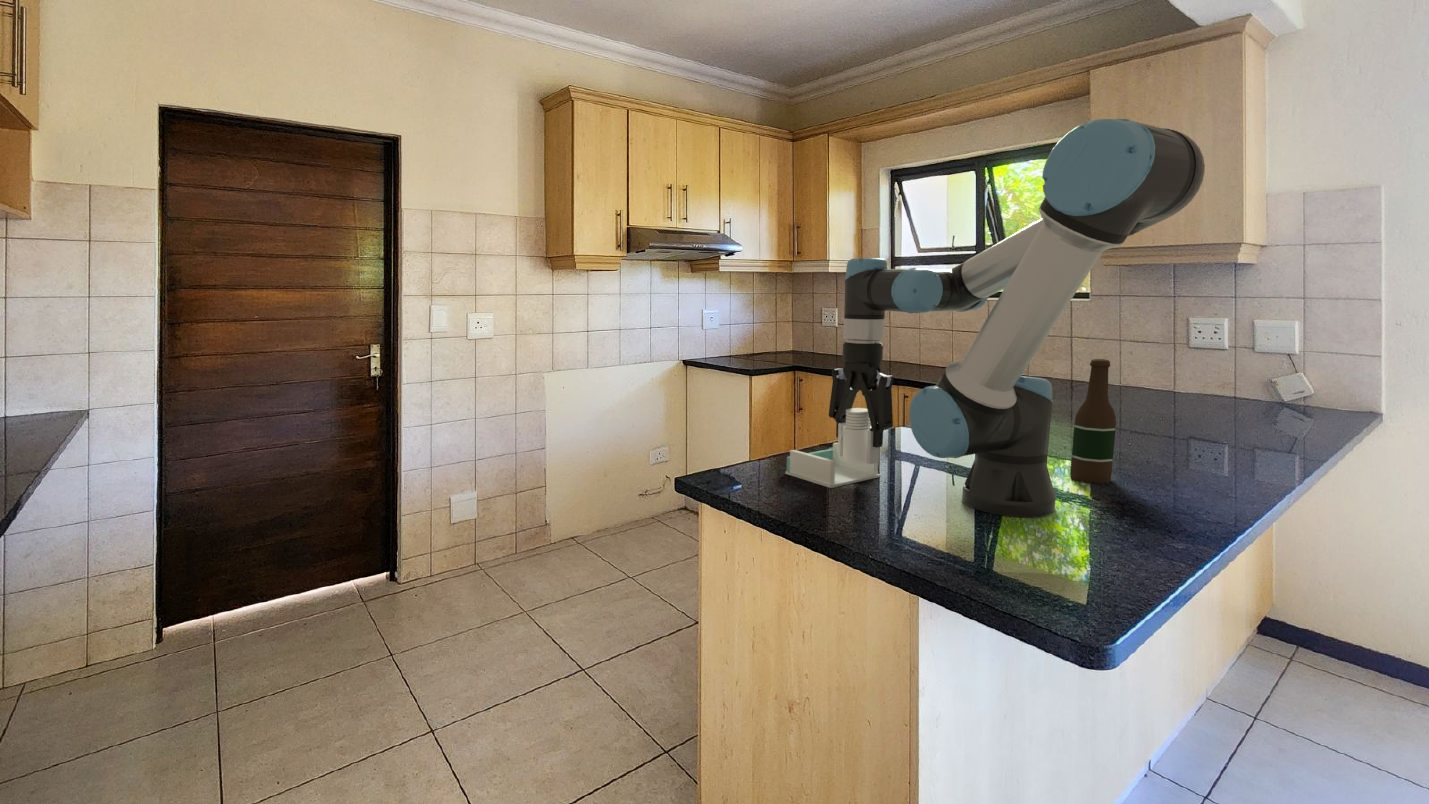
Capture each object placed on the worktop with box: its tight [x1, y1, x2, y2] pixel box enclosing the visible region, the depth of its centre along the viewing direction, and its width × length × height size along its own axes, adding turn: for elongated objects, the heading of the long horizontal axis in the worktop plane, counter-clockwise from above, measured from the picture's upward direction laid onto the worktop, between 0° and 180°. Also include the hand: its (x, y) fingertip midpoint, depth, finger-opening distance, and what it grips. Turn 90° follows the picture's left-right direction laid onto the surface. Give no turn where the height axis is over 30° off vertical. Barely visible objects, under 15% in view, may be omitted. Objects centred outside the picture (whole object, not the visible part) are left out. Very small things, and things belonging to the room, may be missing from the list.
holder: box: [784, 442, 881, 489], centre depth 143 cm, size 13×14×5 cm
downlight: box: [837, 407, 872, 463], centre depth 137 cm, size 8×7×10 cm
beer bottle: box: [1069, 358, 1117, 485], centre depth 139 cm, size 8×8×24 cm
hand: (857, 458), depth 138 cm, fingers closed on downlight, 7 cm apart
